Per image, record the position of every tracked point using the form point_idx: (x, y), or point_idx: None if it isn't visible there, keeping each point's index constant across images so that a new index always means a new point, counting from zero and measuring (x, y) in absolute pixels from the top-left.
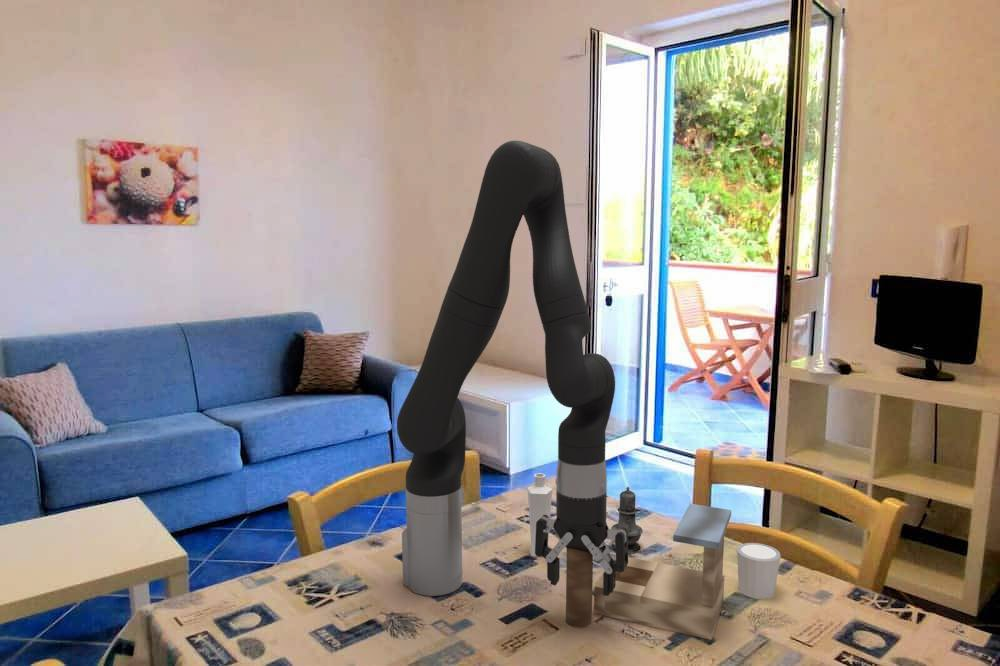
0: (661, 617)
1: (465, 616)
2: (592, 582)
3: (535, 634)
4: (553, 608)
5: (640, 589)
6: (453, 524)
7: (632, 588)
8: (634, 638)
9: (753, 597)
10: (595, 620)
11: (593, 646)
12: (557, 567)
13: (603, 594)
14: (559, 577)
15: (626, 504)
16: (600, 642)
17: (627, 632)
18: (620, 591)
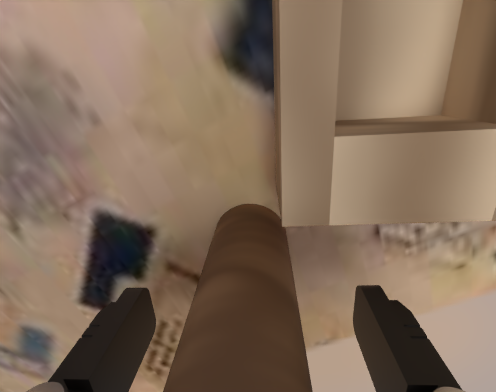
0: None
1: (16, 320)
2: (299, 319)
3: (185, 321)
4: (162, 211)
5: (491, 166)
6: None
7: (451, 174)
8: (412, 251)
9: None
10: None
11: (321, 313)
12: (119, 362)
13: (355, 330)
14: (142, 291)
15: None
16: (332, 295)
17: (390, 234)
18: (398, 220)
